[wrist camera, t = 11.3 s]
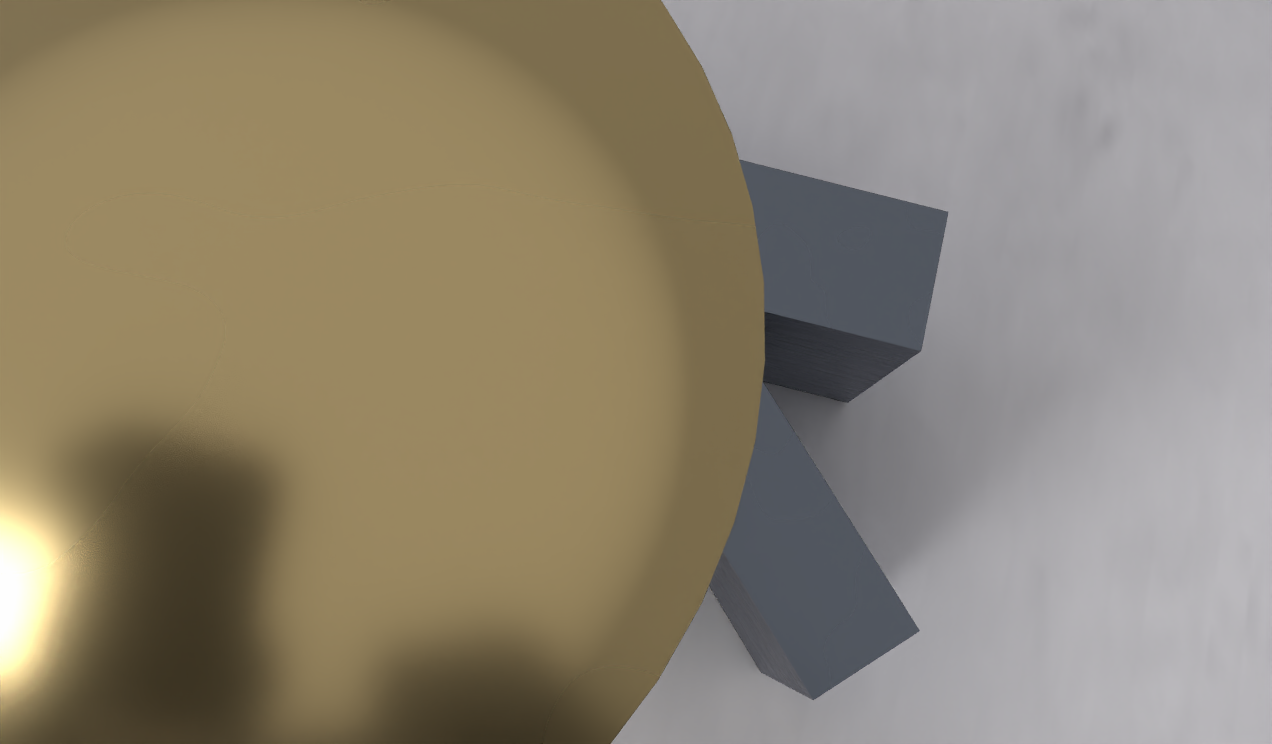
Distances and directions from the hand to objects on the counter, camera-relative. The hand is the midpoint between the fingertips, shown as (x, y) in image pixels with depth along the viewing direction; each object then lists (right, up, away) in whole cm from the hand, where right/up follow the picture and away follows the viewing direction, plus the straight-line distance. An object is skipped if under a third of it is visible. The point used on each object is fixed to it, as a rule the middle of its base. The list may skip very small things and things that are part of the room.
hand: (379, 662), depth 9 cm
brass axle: (0, 0, +8) cm, 8 cm away
